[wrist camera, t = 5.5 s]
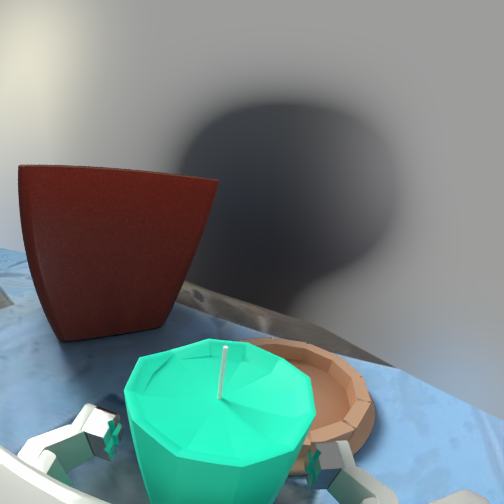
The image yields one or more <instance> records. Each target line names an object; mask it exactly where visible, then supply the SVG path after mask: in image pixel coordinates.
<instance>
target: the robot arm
mask: <svg viewBox="0 0 504 504" xmlns="http://www.w3.org/2000/svg"><path fill="white" fill-rule="evenodd" d="M119 421H120V415H119V414H117V413H114V412H111V411H108V410H106V409H103V408H100V407H98V406H95V405H92V404H90V403H87V404H85V405H84V407H83V408H82V410H81V411H80V413H79V414H78V416H77V417H76V419H75V420H74V422H73V423H72V425H66V426H63V427H60V428H58V429H55V430H53V431H50V432H47V433H44V434H42V435H39V436H36V437H33V438H30V439H29V440H28V441H27V442H26V444H25V445H24V447H23V448H22V449H21V451H20V452H19V453H18V455H17V456H16V455H14V454H13V453H11V452H10V451H8V450H7V449H5V448H4V447H3V446H1V445H0V504H111V503H108V502H105V501H103V500H100V499H98V498H95V497H93V496H90V495H88V494H86V493H83V492H81V491H79V490H77V489H75V488H72V487H71V486H72V481H71V480H70V478H69V477H68V475H67V474H66V473H67V472H69V471H71V470H72V469H74V468H76V467H77V466H79V465H81V464H83V463H84V462H86V461H88V460H89V459H91V458H92V457H94V456H97V457H100V458H102V459H105V460H108V461H112V459H113V457H114V455H115V453H116V449H115V446H117V445H119V444H120V442H121V439H122V435H123V428H122V425H121V424H120V423H119ZM310 449H311V450H310V451H309V452H307V454H306V456H305V461H304V467H305V471H306V472H307V473H308V474H309V475H308V477H307V478H306V480H307V485H308V490H320V489H327V491H328V492H329V493H330V494H331V495H332V496H333V497H334V498H335V499H336V500H337V501H338V502H339V503H340V504H399V502H398V499H397V496H396V494H395V492H394V491H393V490H391V489H390V488H388V487H387V486H385V485H384V484H383V483H381V482H380V481H378V480H377V479H376V478H374V477H373V476H372V475H370V474H369V473H367V472H366V471H365V470H363V469H362V468H361V467H357V466H356V463H355V460H354V457H353V455H352V452H351V449H350V446H349V443H348V441H347V440H344V441H320V442H313V443H312V444H311V446H310ZM428 504H490V503H489V501H488V500H487V499H486V498H485V497H483V496H481V495H479V494H477V493H474V492H472V491H470V490H467V489H463V490H460V491H457V492H455V493H453V494H450V495H448V496H446V497H443V498H441V499H438V500H436V501H433V502H431V503H428Z"/></svg>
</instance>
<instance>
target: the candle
mask: <svg viewBox="0 0 504 504" xmlns="http://www.w3.org/2000/svg"><path fill="white" fill-rule="evenodd" d="M124 396H125V402H126V408H127V414H128V419H129V424H130V429H131V434H132V439H133V443H134V448H135V452H136V456H137V460H138V464H139V468H140V471H141V475H142V478H143V482H144V485H145V488H146V492H147V495H148V498H149V501H150V504H273V503H274V501H275V499H276V498H277V496H278V494H279V492H280V490H281V488H282V486H283V484H284V483H285V481H286V479H287V477H288V475H289V473H290V471H291V469H292V467H293V465H294V463H295V460H296V458H297V456H298V454H299V452H300V450H301V448H302V446H303V443H304V441H305V439H306V437H307V434H308V432H309V430H310V427H311V425H312V423H313V420H314V418H315V415H316V411H315V404H314V398H313V391H312V385H311V379H310V377H308V376H307V375H306V374H304V373H303V372H301V371H300V370H299V369H297V368H296V367H294V366H293V365H292V364H290V363H289V362H288V361H286V360H285V359H284V358H281V357H279V356H277V355H274V354H272V353H270V352H268V351H265V350H263V349H261V348H259V347H257V346H254V345H252V344H250V343H247V342H236V341H226V340H216V339H206V340H202V341H199V342H196V343H192V344H189V345H186V346H182V347H179V348H175V349H172V350H168V351H164V352H160V353H156V354H152V355H147V356H143V357H139V359H138V361H137V363H136V365H135V367H134V369H133V371H132V374H131V376H130V378H129V380H128V382H127V384H126V386H125V388H124Z"/></svg>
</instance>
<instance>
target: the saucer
mask: <svg viewBox="0 0 504 504" xmlns="http://www.w3.org/2000/svg"><path fill="white" fill-rule="evenodd" d="M236 342H247V343H250V344H252V345H254V346H257V347H259V348H261V349H263V350H265V351H268V352H270V353H272V354H274V355H277V356H279V357H281V358H284V359H285V360H286V361H288V362H289V363H290V364H292V365H293V366H294V367H296V368H297V369H299V370H300V371H301V372H303V373H304V374H306V375H307V376H308V377H310V379H311V385H312V391H313V398H314V404H315V411H316V415H315V418H314V420H313V423H312V425H311V427H310V430H309V432H308V434H307V437H306V439H305V441H304V443H303V446H302V448H301V450H300V452H299V454H298V456H297V458H296V460H295V463H294V465H293V467H292V469H291V471H290V473H289V475H288V476H295V475H308V473H307V472H306V471H305V467H304V461H305V456H306V454H307V452H309V451H310V450H311V449H310V446H311V444H312V443H313V442H320V441H344V440H347V441H348V443H349V446H350V449H351V452H352V455H353V456H354V455H355V454H356V453H357V452H358V451H359V450H360V449H361V448H362V446H363V445H364V443H365V442H366V440H367V439H368V437H369V435H370V434H371V431H372V429H373V426H374V422H375V407H374V402H373V400H372V397H371V395H370V393H369V392H368V390H367V387H366V384H365V380H364V377H362V375H361V374H360V373H358V372H357V371H356V370H355V369H354V368H353V367H352V366H350V365H349V364H348V363H347V362H346V361H345V360H343V359H342V358H341V357H339V356H338V355H335V354H333V353H330V352H328V351H326V350H323V349H321V348H318V347H316V346H314V345H311V344H308V345H307V343H305V342H298V341H292V340H286V339H280V338H273V339H272V337H269V338H257V339H244V340H239V341H238V340H237V341H236ZM338 357H339V358H338Z"/></svg>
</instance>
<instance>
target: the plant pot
mask: <svg viewBox="0 0 504 504" xmlns="http://www.w3.org/2000/svg"><path fill="white" fill-rule="evenodd" d="M218 184H219V180H214V179H207V178H200V177H193V176H185V175H178V174H169V173H160V172H151V171H141V170H130V169H118V168H105V167H89V166H88V167H87V166H67V165H19V166H18V194H19V208H20V219H21V227H22V234H23V240H24V246H25V251H26V256H27V260H28V265H29V269H30V273H31V276H32V279H33V283H34V286H35V289H36V292H37V295H38V298H39V300H40V303H41V305H42V308H43V310H44V313H45V315H46V317H47V319H48V322H49V324H50V326H51V328H52V329H53V331H54V333H55V335H56V337H57V338H58V339H59V340H61V341H73V340H81V339H88V338H96V337H103V336H110V335H116V334H123V333H129V332H135V331H142V330H147V329H152V328H158V327H161V326H162V325H164V323H165V321H166V319H167V317H168V315H169V313H170V311H171V309H172V307H173V305H174V303H175V300H176V298H177V296H178V294H179V292H180V289H181V287H182V285H183V283H184V280H185V278H186V276H187V273H188V271H189V269H190V266H191V263H192V261H193V259H194V256H195V253H196V251H197V248H198V246H199V243H200V240H201V237H202V235H203V232H204V229H205V226H206V223H207V220H208V217H209V215H210V211H211V208H212V205H213V202H214V199H215V195H216V192H217V187H218Z"/></svg>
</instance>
